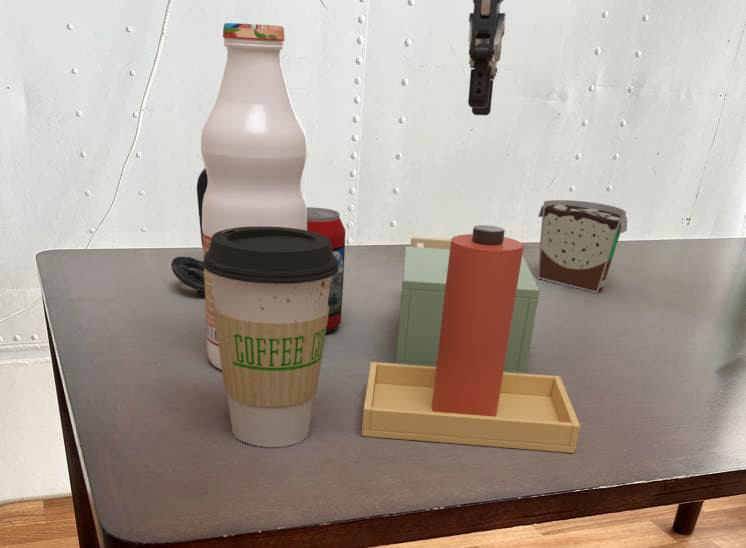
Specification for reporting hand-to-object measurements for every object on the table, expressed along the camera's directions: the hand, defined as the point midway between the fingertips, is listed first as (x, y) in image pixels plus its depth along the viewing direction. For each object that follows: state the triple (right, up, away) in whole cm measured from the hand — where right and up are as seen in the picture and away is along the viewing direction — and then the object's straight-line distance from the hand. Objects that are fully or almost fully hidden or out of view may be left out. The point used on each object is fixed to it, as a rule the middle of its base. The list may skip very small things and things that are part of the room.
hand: (479, 111), depth 95 cm
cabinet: (-4, -30, -9) cm, 32 cm away
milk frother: (-29, -18, +8) cm, 35 cm away
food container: (+17, -15, +18) cm, 29 cm away
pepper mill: (-6, -39, -25) cm, 46 cm away
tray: (-5, -39, -25) cm, 47 cm away
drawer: (-3, -22, +1) cm, 23 cm away
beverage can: (-20, -27, -5) cm, 34 cm away
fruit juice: (-25, -33, -15) cm, 44 cm away
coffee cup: (-22, -41, -29) cm, 55 cm away
